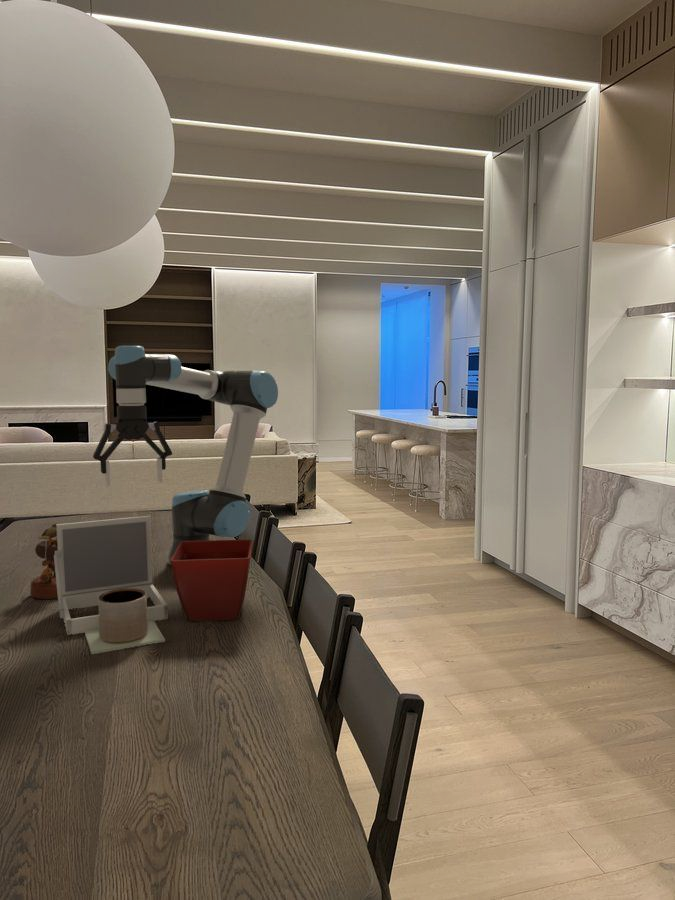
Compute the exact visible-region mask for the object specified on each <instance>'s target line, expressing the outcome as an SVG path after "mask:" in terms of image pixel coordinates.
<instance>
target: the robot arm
mask: <svg viewBox="0 0 675 900" xmlns="http://www.w3.org/2000/svg"><path fill="white" fill-rule="evenodd" d="M107 364H108V365H107V371H108V373H109V375H110V377H111V378H112V379H114V381H115V388H116V390H115V392H116V393H115V394H116V395H115V396H116V403H117V404H118V405H117V406H116V418H117V419H116V420H117V421H116V424H113V423H108V422H107V423H106V422H105V424H104V431H103V433H102V436H101V438H100V440H99V442H98V443H97V446H96V448H95V450H94V453H93V455H92V458H93V459H94V460H96V461H99V462H100V473H101V474H104V476H105V486H106V487H111V473H110V461H109V460H107V459H109V457H110V456H111V455H112V454H113V452H114V451H115V449H117V448H118V446H119V445H120V444H121V443H122V442H123V441H124V440H126V441H132V440H137V441H139V440H140V439H142V440H144V441H145V443H147V444H148V445H149V446H150V448H152V450H153V451H154V452H155V453H156V454H157V455H158V456H159V457H156V468H157V469H156V474H157V477H156V478H157V479H156V480H157V482H158V483H163V471H165V470H166V467H167V465H166V463H167V462H166V459H167V457H169V456H172V455H173V452H172V449H171V447H170V446H169V444H168V442H167V441H166V439H165V436H164V435H163V433H162V432H161V429H160V423H159V422H158V421H153V422H148V420H147V419H148V418H147V417H148V414H147V406H146V405H145V404H146V403H147V395H146V394H147V391H146V389H147V387H146V386H147V385H148V386H151V387H152V386H154V387H158V388H163V389H167V390H168V389H169V390H173V391H178V392H183V393H186V394H187V393H188V394H193V395H198V396H199V397H200V398H201V399H203V400H207V401H211V402H214V403H218V404H222V405H225V406H226V405H227V406H229V407H230V409H231V411H232V412H233V414H232V418H231V423H230V427H229V431H228V434H227V440H226V443H225V446H224V447H225V448H224V451H223V456H222V459H221V464H220V468H219V471H218V476H217V479H216V484H215V486H213V487H211V488H209V491H208V490H206V489H205V490H204V489H203V490H202V489H200V490H190V491H185V492H180V493H179V492H178V493H176V494H173V497H172V498H171V501H172V502H171V517H172V518H171V521H172V522H171V523H172V542H171V546H170V549H169V552H168V556H167V563H168V565H169V566H171V558H172V556H173V555H174V553H175V551H176V549H177V547H178V546H179V544H180V542H184V541H209V540H211V535H212V536H216V537H219V538H231V539H232V538H235V537H238V536H240V534H242V533H244V531H245V529H246V528H247V526H248V524H249V522H250V518H251V517H250V516H251V515H250V514H251V512H250V511H249V510H250V507H249V505H248V504H247V503H246V500H247V497H246V495H245V493H244V487H245V484H246V480H247V475H248V471H249V467H250V464H251V463H250V462H251V457H252V455H253V449H254V447H255V446H254V445H255V442H256V437H257V433H258V430H259V429H258V428H259V426H260V425H259V424H260V420H261V419H263V418H265V417H266V415H267V411H268V409H270V408H273V407H274V405H275V404H277V402H278V397H279V388H278V384H277V382H276V379H275V377H274V376H273V375H272V374H271V373H270V372H268V371H266V370H265V371H264V370H258V369H256V370H222V371H221V370H219V371H217V370H212V369H211V370H210V369H206V370H197V369H193V368H190V367H189V368H188V367H184V366H182V363H181V360H180V359H179V357H178V356H176V355H174V354H168V353H164V354H163V353H152V354H151V353H146V352H145V348H144V346H142V345H118V346H116V347H115V350H114V356H112V357H111V358H110V360H109V362H108V363H107ZM115 429H116V431H117V432H118V434H117V435H116V437H115V439H113V441H112V442H111V444H110V445H109V446H108V447H107V448H106V450H105V451H104V452H103V450H104V448H105V445H106V443H107V442H108V439H109V437H110V435H111V433H113V432H114V430H115ZM149 429H150V430H152V431H154V434H155V436H156V437H157V439H158V441H159V443H160V445H161V447H162V448H163V450H164V451H163V450H162V449H161V448H160V447H159V446H158V445H157V444H156V443H155V442H154V440H153V439H151V438H150V436H149V435H148V434H147V431H148V430H149ZM102 452H103V453H102ZM101 454H102V455H101Z"/></svg>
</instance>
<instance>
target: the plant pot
mask: <svg viewBox="0 0 675 900" xmlns="http://www.w3.org/2000/svg"><path fill="white" fill-rule="evenodd" d="M252 549H253V540H252V539H215V540H211V539H210V540H209V541H184V542H180V544H179V546H178V547H177V549H176V551H175V553H174V555H173V556H172V558H171V565H170V567H171V571H172V572H171V573H172V576H173V581H174V585H175V589H176V592H177V596H178V600H179V602H180V605H181V608H182V611H183V613H184V615H185V619H186V620H187V621H188V622H207V621H208V622H209V621H212V622H213V621H233V620H234V621H235V620H236V621H237V620H239V618H240V616H241V614H242V613H241V612H242V608H243V604H244V600H245V596H246V590H247V585H248V579H249V571H250V564H251V558H252Z"/></svg>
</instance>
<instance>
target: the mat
mask: <svg viewBox="0 0 675 900" xmlns="http://www.w3.org/2000/svg"><path fill="white" fill-rule="evenodd" d="M84 635H85V638H86V641H87V645H88V647H89V651H90V653H91V655H97V654H101V653H108V652H115V651H118V650H125V648H126V649H129V648H130V647H131V648H136V647H135V646H137V647H141V646H142V645H143V646H147V644H148V645H154V644H158V643H165V642H166V638H165V637H164V635H163V634H162V632H161V631H160V629H159V627H158V626H157V623H156V621H154V620H153V621H148V632H147V633H146V634H145V635H144V636H143V637H142V638H140V639H138V640H135V641H131V642H126V643H110V642H106V641H104V640H102V639H101V638H100V635H99V629H97V630H91V631H85V632H84ZM153 643H154V644H153ZM143 646H142V647H143Z"/></svg>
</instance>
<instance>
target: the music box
mask: <svg viewBox="0 0 675 900" xmlns="http://www.w3.org/2000/svg"><path fill="white" fill-rule="evenodd" d="M56 524H58V523H56V522H55V523H53V524H52V525H51V527H48V528H46V529H45V530H44V531H43V532H42V533H41V535H40V536H39V537H38V539H42V541H39V542H38V543H37V544H36V546H35V549H34V550H35V551H34V552H35V555H36V556H37V557H39V558H41V559H44V560H42V562H41V566H42V567H45V568H44V570H43V571H42V573H41V574H40V576H37V577H35V578H34V579H33V580H31V582H30V596H32V597H34V598H37V599H45V600H46V599H48V600H49V599H50V600H51V599H58V593H57V583H56V573H55V563H54V555H55V551H58V546H57V526H56ZM53 538H55V539H53Z"/></svg>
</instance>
